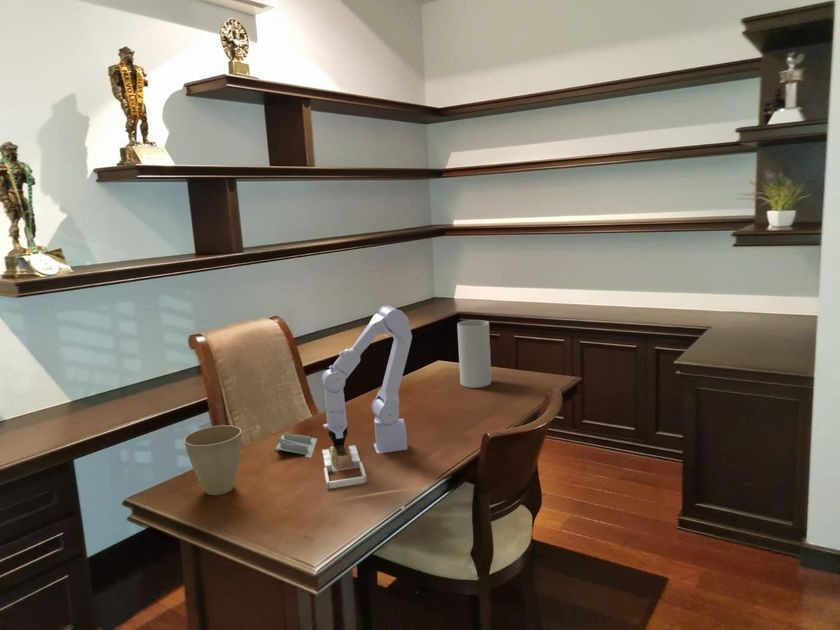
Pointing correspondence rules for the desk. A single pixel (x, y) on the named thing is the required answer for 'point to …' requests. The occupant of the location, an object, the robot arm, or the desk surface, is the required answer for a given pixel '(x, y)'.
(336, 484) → the tray
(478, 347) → the cylinder vase
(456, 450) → the desk surface
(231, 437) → the plant pot
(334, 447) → the brass cube
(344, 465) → the copper cube
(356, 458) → the aluminium channel
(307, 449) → the metal bracket
